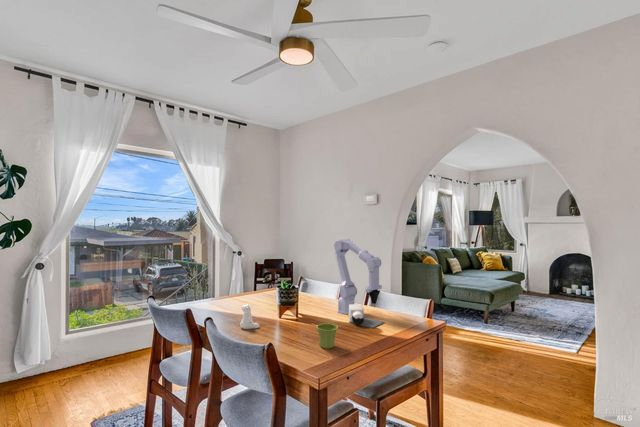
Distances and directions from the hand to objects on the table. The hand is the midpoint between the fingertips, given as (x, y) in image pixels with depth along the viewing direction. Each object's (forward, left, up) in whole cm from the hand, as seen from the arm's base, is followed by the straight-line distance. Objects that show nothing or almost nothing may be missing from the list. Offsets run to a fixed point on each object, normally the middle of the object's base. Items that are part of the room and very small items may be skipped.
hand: (373, 303), depth 194 cm
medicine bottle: (-8, -7, -4) cm, 11 cm away
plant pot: (+4, -49, -9) cm, 50 cm away
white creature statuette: (-44, -53, -9) cm, 69 cm away
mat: (0, -8, -9) cm, 12 cm away
